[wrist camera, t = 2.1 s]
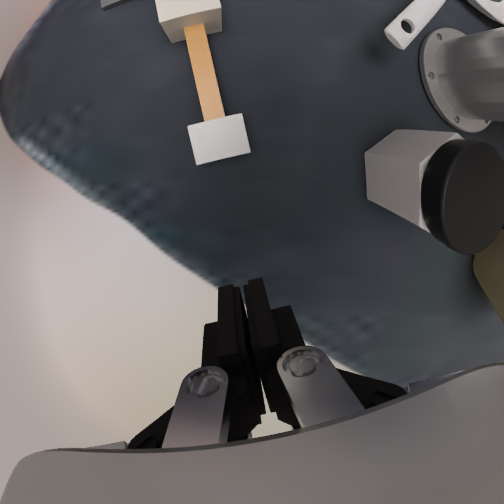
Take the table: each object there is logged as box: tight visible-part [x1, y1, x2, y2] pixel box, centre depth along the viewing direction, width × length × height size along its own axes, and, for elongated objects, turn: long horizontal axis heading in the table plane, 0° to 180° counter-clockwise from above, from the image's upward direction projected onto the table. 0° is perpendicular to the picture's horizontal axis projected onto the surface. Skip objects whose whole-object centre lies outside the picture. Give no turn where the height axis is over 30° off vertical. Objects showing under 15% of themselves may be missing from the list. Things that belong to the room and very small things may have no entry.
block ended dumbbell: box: [155, 0, 251, 165], centre depth 19 cm, size 4×16×6 cm, turn 12°
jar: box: [364, 129, 504, 255], centre depth 21 cm, size 9×8×12 cm
